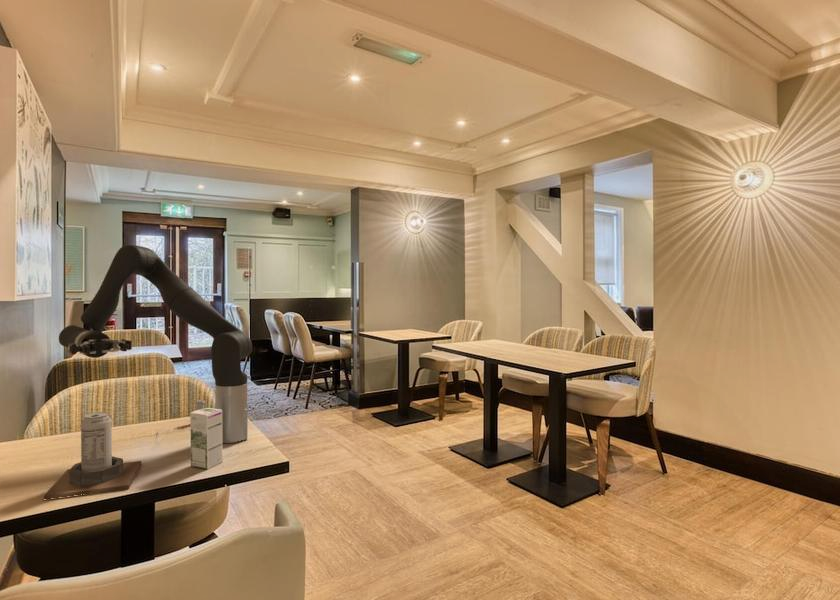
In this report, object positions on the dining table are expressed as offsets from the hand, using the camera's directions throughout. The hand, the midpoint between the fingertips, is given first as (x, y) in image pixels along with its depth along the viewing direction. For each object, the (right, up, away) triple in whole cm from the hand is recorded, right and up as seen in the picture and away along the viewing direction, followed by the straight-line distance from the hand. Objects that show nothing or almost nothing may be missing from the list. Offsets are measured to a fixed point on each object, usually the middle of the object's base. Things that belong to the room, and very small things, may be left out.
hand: (107, 348), depth 125 cm
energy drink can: (+7, -30, -14) cm, 33 cm away
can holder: (+7, -30, -14) cm, 34 cm away
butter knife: (+5, -30, +15) cm, 34 cm away
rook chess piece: (+9, -30, +34) cm, 46 cm away
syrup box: (+28, -31, -3) cm, 42 cm away
